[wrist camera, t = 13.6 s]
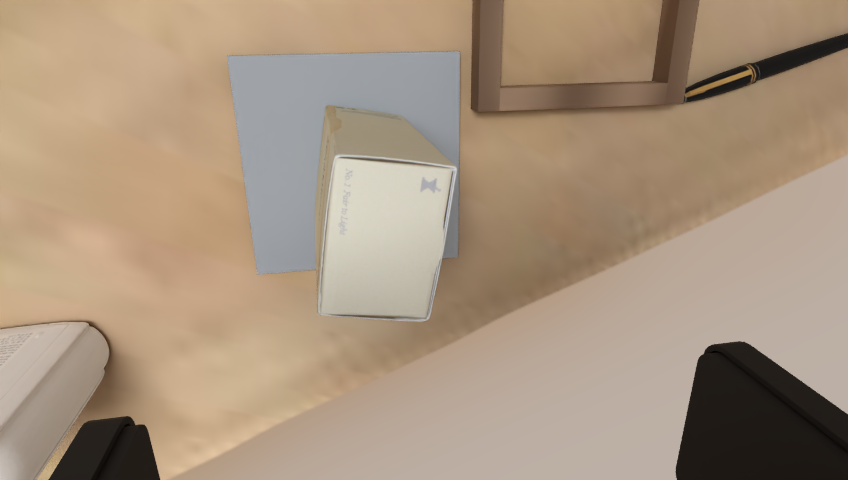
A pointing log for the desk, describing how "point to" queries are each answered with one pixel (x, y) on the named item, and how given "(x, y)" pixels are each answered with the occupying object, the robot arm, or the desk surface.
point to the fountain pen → (763, 69)
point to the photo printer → (44, 390)
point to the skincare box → (379, 216)
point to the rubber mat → (303, 124)
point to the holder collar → (660, 91)
